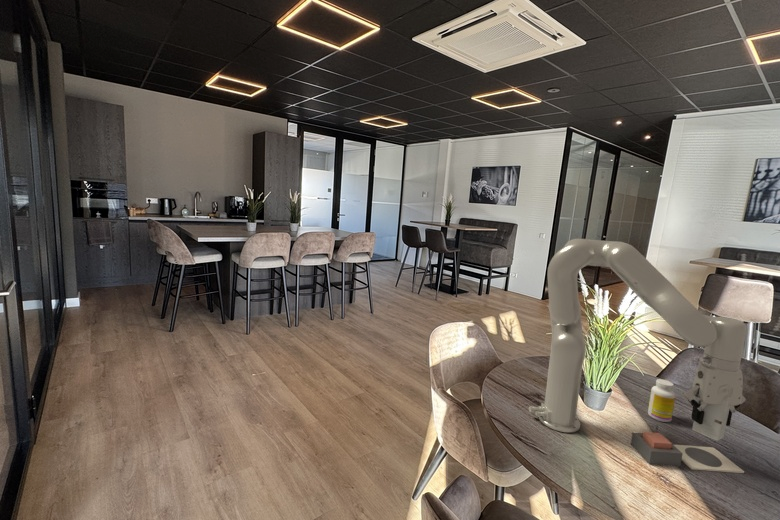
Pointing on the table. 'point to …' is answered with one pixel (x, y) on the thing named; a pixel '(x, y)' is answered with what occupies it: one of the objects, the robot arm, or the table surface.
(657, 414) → the supplement bottle
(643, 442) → the button housing
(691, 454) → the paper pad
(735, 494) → the table surface
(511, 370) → the table surface
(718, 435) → the skincare box
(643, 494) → the table surface
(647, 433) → the button
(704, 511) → the table surface
